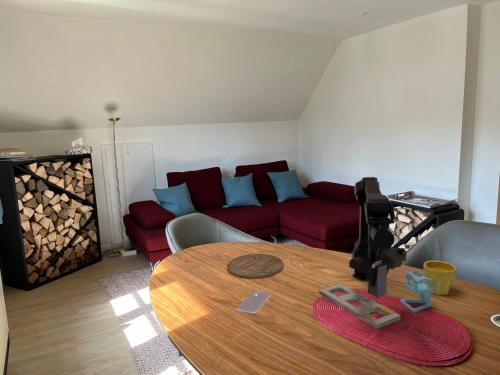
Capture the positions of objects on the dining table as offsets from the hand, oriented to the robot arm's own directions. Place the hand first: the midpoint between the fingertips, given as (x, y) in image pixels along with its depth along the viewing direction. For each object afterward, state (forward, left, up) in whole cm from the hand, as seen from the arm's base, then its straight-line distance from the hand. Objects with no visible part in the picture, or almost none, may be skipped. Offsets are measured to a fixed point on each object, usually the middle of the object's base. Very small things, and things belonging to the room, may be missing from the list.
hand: (377, 284), depth 120 cm
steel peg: (0, 0, -3) cm, 3 cm away
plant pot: (-32, -1, -12) cm, 34 cm away
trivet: (+12, -59, -12) cm, 61 cm away
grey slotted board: (0, -9, -11) cm, 14 cm away
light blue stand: (-17, +2, -12) cm, 21 cm away
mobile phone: (+28, -31, -12) cm, 43 cm away
